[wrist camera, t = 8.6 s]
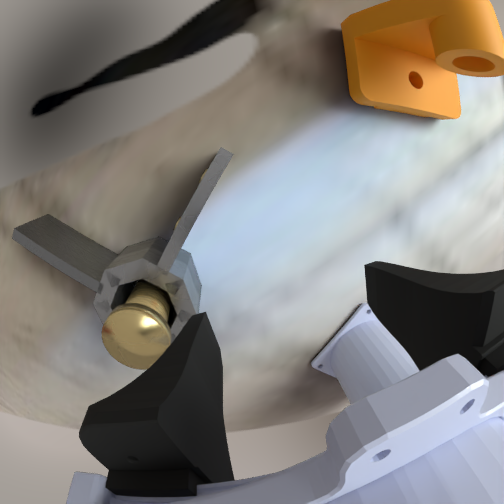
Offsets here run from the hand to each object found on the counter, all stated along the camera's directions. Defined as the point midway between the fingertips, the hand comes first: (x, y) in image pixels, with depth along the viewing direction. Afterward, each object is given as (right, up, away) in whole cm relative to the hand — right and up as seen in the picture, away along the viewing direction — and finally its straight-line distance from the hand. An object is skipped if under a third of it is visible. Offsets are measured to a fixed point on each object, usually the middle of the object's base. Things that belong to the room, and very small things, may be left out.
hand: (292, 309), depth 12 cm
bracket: (+11, +18, +7) cm, 22 cm away
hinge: (-11, +5, +8) cm, 14 cm away
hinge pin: (-9, 0, +10) cm, 13 cm away
